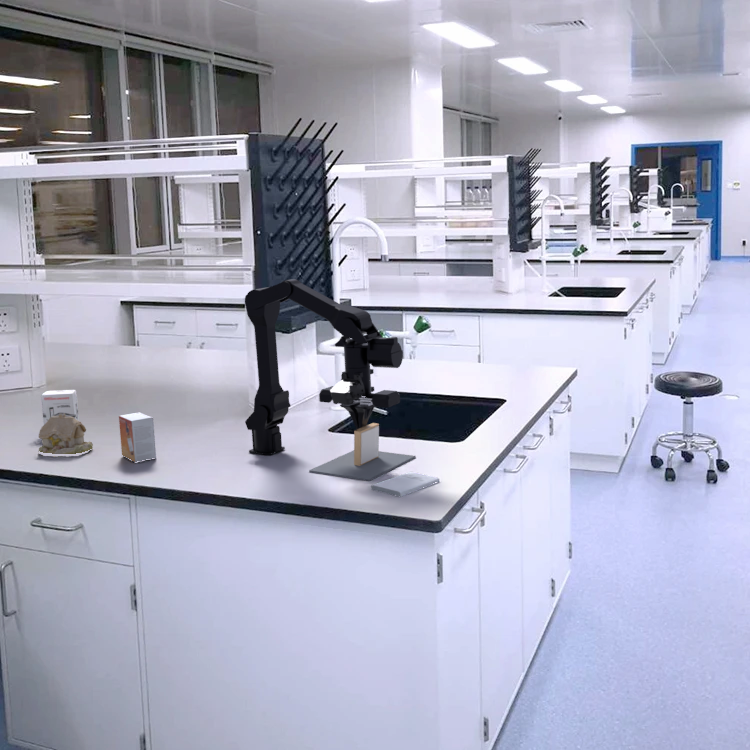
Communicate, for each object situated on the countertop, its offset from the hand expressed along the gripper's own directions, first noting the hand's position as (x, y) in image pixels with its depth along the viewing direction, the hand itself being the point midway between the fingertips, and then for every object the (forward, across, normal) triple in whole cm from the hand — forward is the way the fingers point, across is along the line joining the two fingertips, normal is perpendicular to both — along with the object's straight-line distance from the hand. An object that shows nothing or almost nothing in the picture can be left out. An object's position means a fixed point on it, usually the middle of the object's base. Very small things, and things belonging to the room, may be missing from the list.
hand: (360, 433), depth 205 cm
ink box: (+6, -90, -11) cm, 91 cm away
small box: (+7, -51, -20) cm, 55 cm away
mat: (+7, +2, -2) cm, 7 cm away
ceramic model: (+6, -74, -23) cm, 78 cm away
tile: (+6, +2, 0) cm, 7 cm away
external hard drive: (+8, +18, -11) cm, 23 cm away
